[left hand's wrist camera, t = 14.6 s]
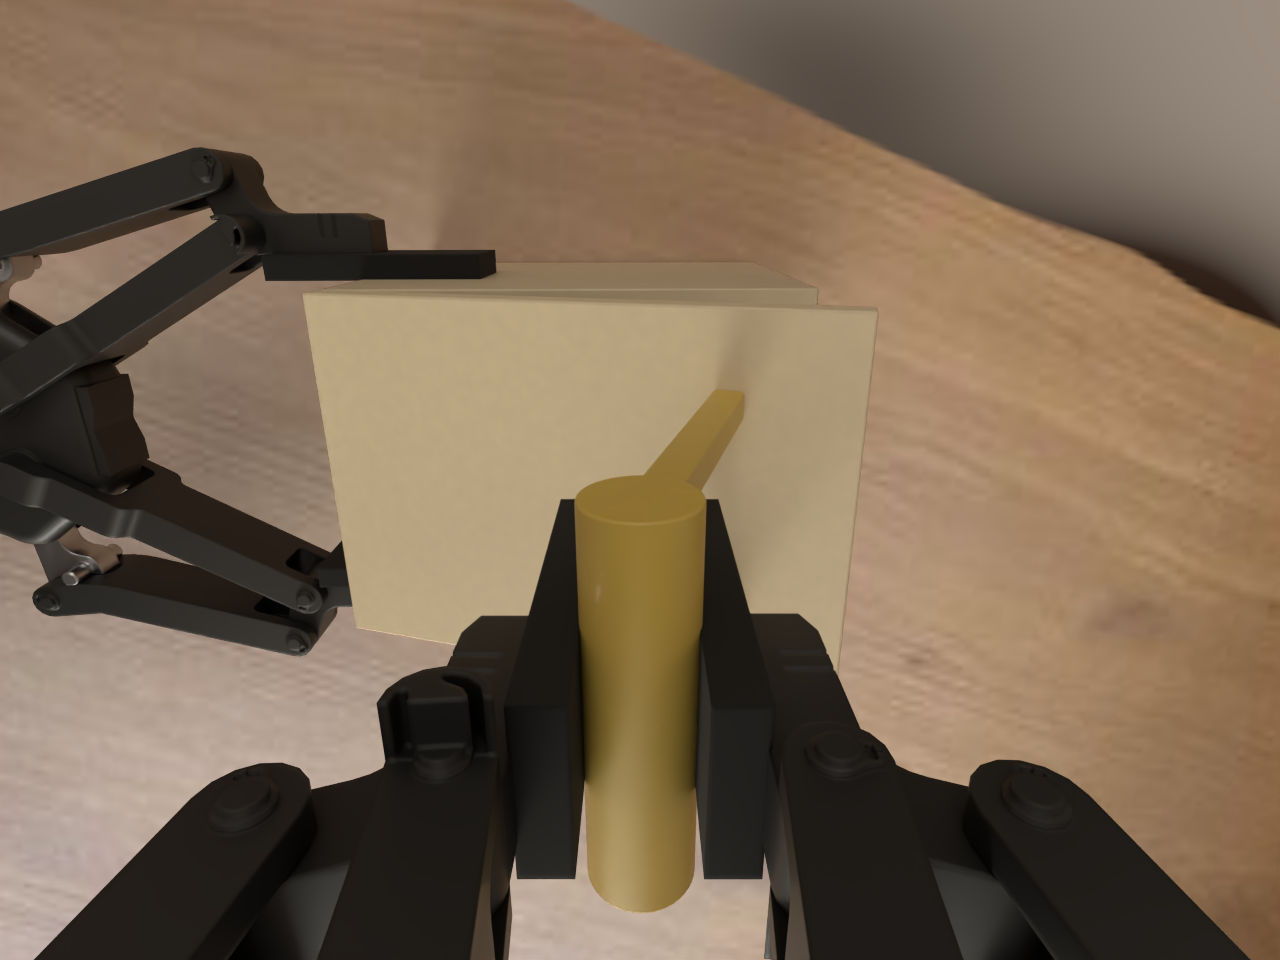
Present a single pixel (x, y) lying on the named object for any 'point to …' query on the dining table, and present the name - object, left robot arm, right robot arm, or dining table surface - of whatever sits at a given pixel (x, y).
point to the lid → (597, 501)
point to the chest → (618, 282)
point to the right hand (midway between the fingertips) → (499, 422)
